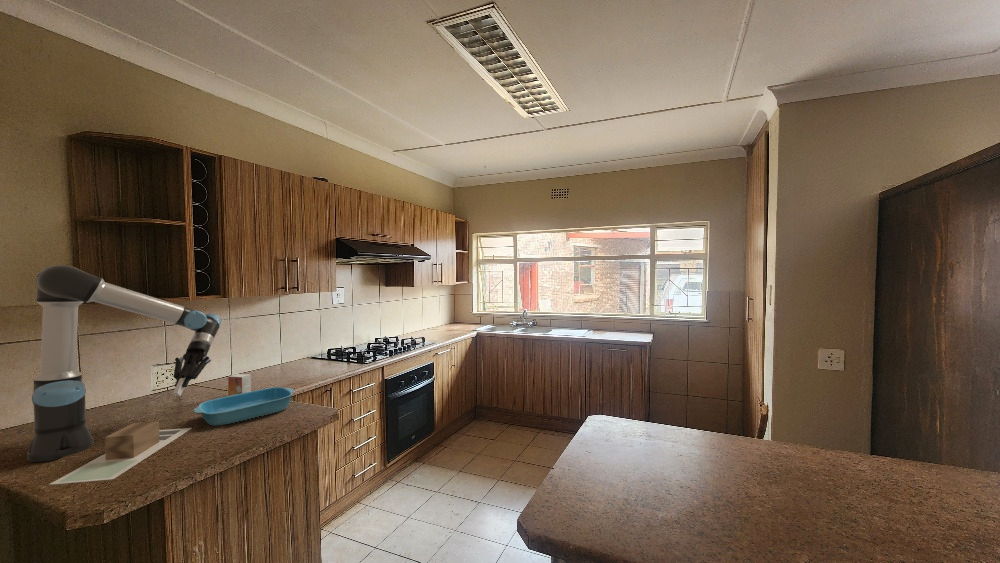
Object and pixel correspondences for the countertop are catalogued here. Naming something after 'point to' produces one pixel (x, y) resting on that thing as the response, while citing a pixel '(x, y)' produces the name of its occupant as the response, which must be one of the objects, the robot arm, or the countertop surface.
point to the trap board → (116, 462)
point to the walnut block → (131, 440)
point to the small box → (239, 384)
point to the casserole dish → (244, 405)
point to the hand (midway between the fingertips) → (176, 394)
